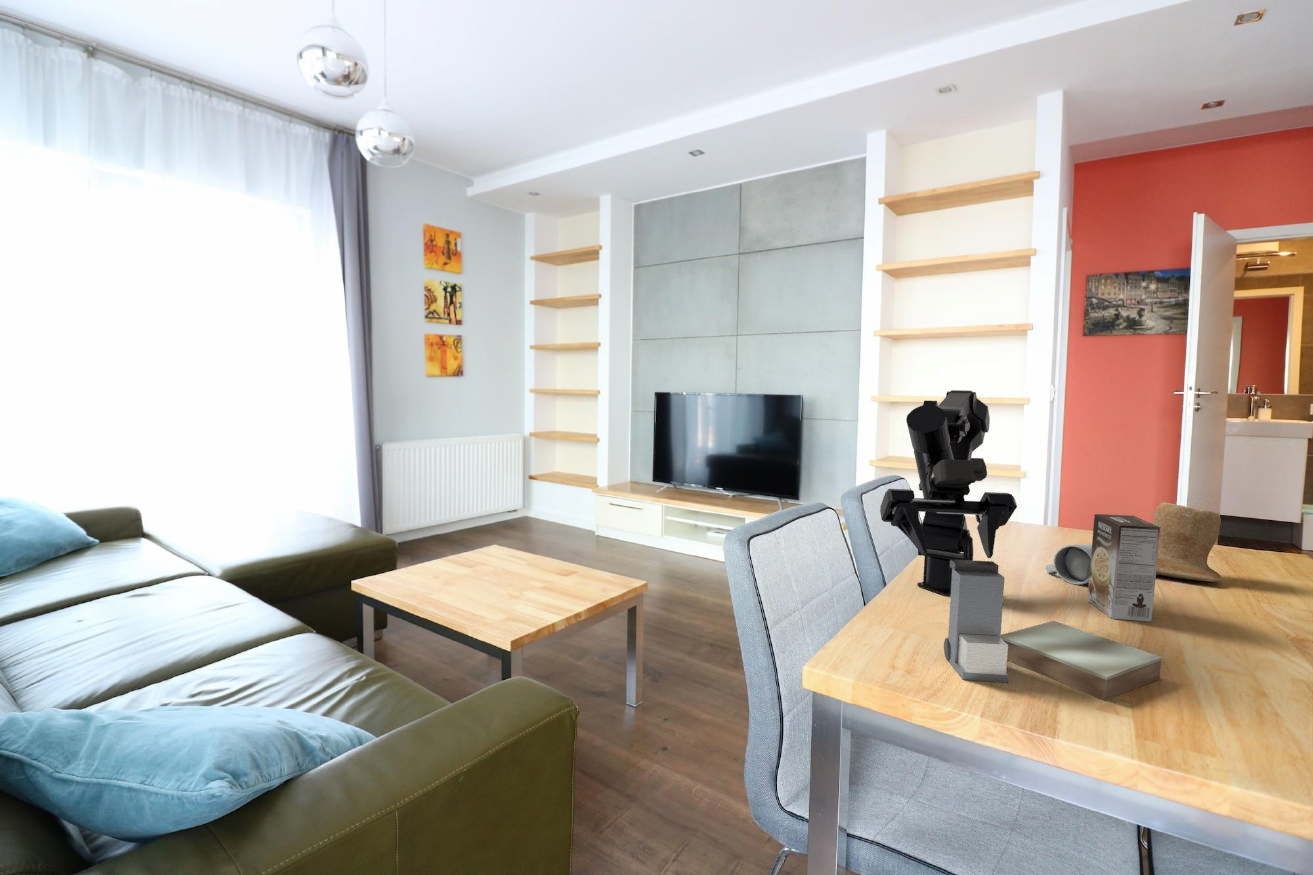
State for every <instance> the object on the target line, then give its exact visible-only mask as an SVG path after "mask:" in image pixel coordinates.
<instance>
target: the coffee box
mask: <svg viewBox="0 0 1313 875" xmlns="http://www.w3.org/2000/svg"><path fill="white" fill-rule="evenodd" d="M1093 516H1094V517H1093V529H1092V543H1091V544H1092V552H1091V564H1090V576H1089V583H1088V588H1087V589H1088V590H1087V591H1088V592H1087V601H1088V602H1089V603H1090V604H1092V606H1094V607H1096V608H1097V609H1098V610H1099V611H1101V612H1102V613H1104V614H1105V615H1106V616H1107V617H1109V618H1110V619H1112V620H1113V619H1114V620H1125V621H1137V622H1138V621H1139V622H1152V621H1153V620H1152V619H1153V609H1154V600H1155V599H1154V598H1155V589H1156V588H1155V587H1156V576H1157V575H1156V570H1157V560H1158V549H1159V539H1160V529H1161V527H1158V526H1156V525H1154V523H1151V522H1149V521H1146V520H1145V519H1142V518H1139V517H1137V516H1135V515H1128V514H1127V515H1125V514H1123V515H1122V514H1102V513H1100V514H1099V513H1098V514H1097V513H1095V514H1094V515H1093Z"/></svg>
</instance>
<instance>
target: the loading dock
mask: <svg viewBox="0 0 1313 875" xmlns="http://www.w3.org/2000/svg"><path fill="white" fill-rule="evenodd" d="M1000 638H1001V639H1002V640H1003V641H1004V642H1005V643H1006V644H1008V653H1007V661H1010V662H1011V663H1014V664H1016V665H1019V666H1021V667H1024V668H1026V669H1027V670H1031V671H1033V672H1036V673H1038V674H1041V675H1042V676H1045V677H1048V678H1049V679H1052V680H1055V681H1057V682H1060V683H1062V684H1065V685H1066V686H1069V687H1071V688H1074V689H1077V690H1078V691H1081V692H1083V693H1086V694H1088V695H1091V696H1093V697H1096V698H1098V699H1101V700H1103V701H1108V700H1109V699H1113V698H1115V697H1117V696H1119V695H1122V694H1125V693H1127V692H1130V691H1132V690H1133V691H1134V690H1135V689H1138V688H1140V687H1143V686H1145V685H1147V684H1150V683H1153V682H1156V681H1158V680H1160V679H1161V671H1162V670H1161V669H1162V668H1161V667H1162V660H1163V659H1162V656H1159V655H1156V654H1154V653H1151V652H1149V651H1145V650H1142V649H1139V648H1135V647H1133V646H1130V645H1128V644H1123V643H1121V642H1118V641H1115V640H1113V639H1110V638H1106V637H1103V636H1100V635H1097V634H1094V633H1092V632H1088V631H1086V630H1082V629H1080V628H1076V627H1073V626H1070V625H1068V624H1064V623H1061V622H1058V621H1056V620H1050V621H1047V622H1044V623H1041V624H1037V625H1033V626H1029V627H1028V626H1027V627H1024V628H1020V629H1018V630H1015V631H1010V632H1006V633H1001V637H1000Z"/></svg>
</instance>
